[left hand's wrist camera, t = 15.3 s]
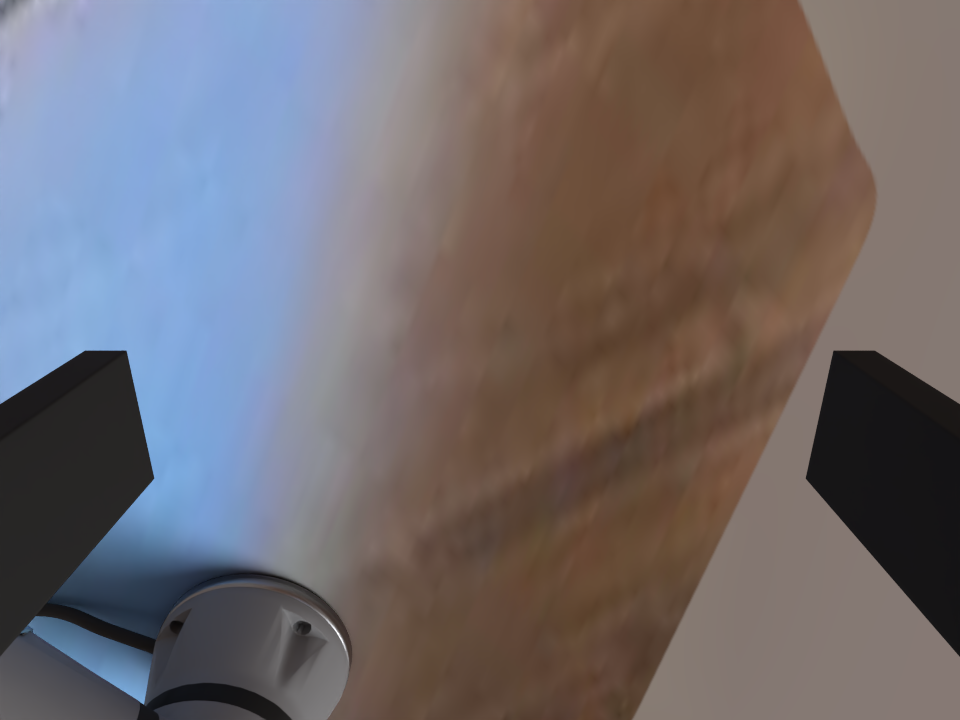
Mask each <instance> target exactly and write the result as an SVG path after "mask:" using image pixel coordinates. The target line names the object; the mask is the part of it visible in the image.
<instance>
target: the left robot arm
mask: <svg viewBox="0 0 960 720" xmlns="http://www.w3.org/2000/svg"><path fill="white" fill-rule="evenodd" d="M153 479H154V475H153V471H152V466H151V461H150V457H149V452H148V448H147V443H146V438H145V434H144V429H143V425H142V420H141V415H140V411H139V406H138V402H137V397H136V392H135V388H134V383H133V379H132V374H131V369H130V365H129V360H128V356H127V351H84V352H82V353H81V354H79V355H78V356H76V357H74V358H73V359H71V360H70V361H68V362H66V363H65V364H63V365H62V366H60V367H59V368H57V369H55V370H54V371H52V372H51V373H49V374H47V375H46V376H44V377H43V378H41V379H40V380H38V381H36V382H35V383H33V384H32V385H30V386H28V387H27V388H25V389H24V390H22V391H20V392H19V393H17V394H16V395H14V396H13V397H11V398H9V399H8V400H6V401H5V402H3V403H1V404H0V720H327V719H328V717H329V716H330V714H331V713H332V711H333V709H334V708H335V706H336V705H337V703H338V702H339V700H340V698H341V696H342V693H343V691H344V689H345V686H346V684H347V680H348V675H349V671H350V667H351V662H352V647H351V641H350V638H349V635H348V632H347V630H346V628H345V626H344V624H343V622H342V621H341V619H340V618H339V617H338V615H337V614H336V613H335V612H334V611H333V609H332V608H331V607H330V606H329V605H328V604H326V603H325V602H324V601H323V600H322V599H320V598H319V597H318V596H316V595H315V594H313V593H312V592H310V591H308V590H306V589H305V588H303V587H301V586H298V585H296V584H294V583H291V582H289V581H286V580H282V579H279V578H275V577H270V576H265V575H256V574H236V575H228V576H223V577H218V578H215V579H212V580H209V581H206V582H204V583H201V584H199V585H198V586H196V587H194V588H192V589H191V590H189V591H188V592H187V593H185V594H184V595H183V596H182V597H181V598H180V599H179V600H178V601H177V602H176V604H175V605H174V606H173V608H172V609H171V611H170V612H169V614H168V616H167V617H166V619H165V621H164V623H163V624H162V626H161V629H160V631H159V634H158V636H157V639H156V640H155V639H152V638H149V637H147V636H144V635H141V634H138V633H135V632H132V631H129V630H127V629H124V628H121V627H118V626H115V625H112V624H110V623H107V622H105V621H102V620H100V619H98V618H96V617H93V616H91V615H89V614H87V613H85V612H82V611H80V610H77V609H74V608H71V607H67V606H63V605H57V604H46V603H47V602H48V601H49V600H50V598H51V597H52V596H53V595H54V594H55V593H56V592H57V590H58V589H59V588H60V587H61V586H62V585H63V583H64V582H65V581H66V580H67V579H68V578H69V577H70V575H71V574H72V573H73V572H74V571H75V570H76V568H77V567H78V566H79V565H80V564H81V563H82V561H83V560H84V559H85V558H86V557H87V556H88V555H89V553H90V552H91V551H92V550H93V549H94V548H95V546H96V545H97V544H98V543H99V542H100V541H101V540H102V538H103V537H104V536H105V535H106V534H107V533H108V531H109V530H110V529H111V528H112V527H113V526H114V524H115V523H116V522H117V521H118V520H119V519H120V518H121V516H122V515H123V514H124V513H125V512H126V511H127V509H128V508H129V507H130V506H131V505H132V504H133V503H134V501H135V500H136V499H137V498H138V497H139V496H140V494H141V493H142V492H143V491H144V490H145V489H146V487H147V486H148V485H149V484H150V483H151V482H152V481H153ZM806 479H807V481H808V482H809V483H810V484H811V485H812V486H813V487H814V489H815V490H816V491H817V492H818V493H819V494H820V496H821V497H822V498H823V499H824V500H825V501H826V502H827V504H828V505H829V506H830V507H831V508H832V509H833V511H834V512H835V513H836V514H837V515H838V516H839V517H840V519H841V520H842V521H843V522H844V523H845V524H846V526H847V527H848V528H849V529H850V530H851V531H852V533H853V534H854V535H855V536H856V537H857V538H858V539H859V541H860V542H861V543H862V544H863V545H864V546H865V548H866V549H867V550H868V551H869V552H870V553H871V555H872V556H873V557H874V558H875V559H876V560H877V561H878V563H879V564H880V565H881V566H882V567H883V568H884V570H885V571H886V572H887V573H888V574H889V575H890V577H891V578H892V579H893V580H894V581H895V582H896V583H897V585H898V586H899V587H900V588H901V589H902V590H903V592H904V593H905V594H906V595H907V596H908V597H909V598H910V600H911V601H912V602H913V603H914V604H915V605H916V607H917V608H918V609H919V610H920V611H921V612H922V614H923V615H924V616H925V617H926V618H927V619H928V620H929V622H930V623H931V624H932V625H933V626H934V627H935V629H936V630H937V631H938V632H939V633H940V634H941V635H942V637H943V638H944V639H945V640H946V641H947V642H948V643H949V645H950V646H951V647H952V648H953V649H954V650H955V652H956V653H957V654H958V655H959V656H960V404H959V403H957V402H955V401H954V400H952V399H951V398H949V397H947V396H946V395H944V394H943V393H941V392H940V391H938V390H936V389H935V388H933V387H932V386H930V385H928V384H927V383H925V382H924V381H922V380H920V379H919V378H917V377H916V376H914V375H913V374H911V373H909V372H908V371H906V370H905V369H903V368H901V367H900V366H898V365H897V364H895V363H894V362H892V361H890V360H889V359H887V358H886V357H884V356H882V355H881V354H879V353H878V352H876V351H833V356H832V360H831V365H830V370H829V374H828V379H827V383H826V388H825V392H824V397H823V402H822V406H821V411H820V415H819V420H818V425H817V429H816V434H815V438H814V443H813V448H812V452H811V457H810V461H809V466H808V471H807V475H806ZM35 616H45V617H53V618H58V619H62V620H66V621H68V622H71V623H74V624H76V625H78V626H80V627H82V628H85V629H87V630H89V631H91V632H93V633H96V634H98V635H101V636H104V637H106V638H109V639H112V640H115V641H117V642H120V643H123V644H126V645H129V646H132V647H135V648H137V649H140V650H143V651H146V652H149V653H152V654H153V657H152V662H151V668H150V674H149V680H148V685H147V691H146V697H145V703H144V705H143V704H142V703H140V702H139V701H138V700H136V699H135V698H133V697H132V696H130V695H128V694H127V693H125V692H124V691H122V690H120V689H119V688H117V687H116V686H114V685H112V684H111V683H109V682H108V681H106V680H104V679H103V678H101V677H100V676H98V675H96V674H95V673H93V672H92V671H90V670H89V669H87V668H86V667H84V666H83V665H81V664H79V663H78V662H76V661H75V660H73V659H72V658H70V657H69V656H67V655H66V654H64V653H63V652H61V651H60V650H58V649H57V648H55V647H54V646H52V645H50V644H49V643H47V642H46V641H44V640H43V639H41V638H40V637H38V636H37V635H35V634H34V633H32V632H33V629H32V628H30V627H29V626H27V625H28V624H29V623H30V622H31V620H32V619H33V618H34V617H35Z"/></svg>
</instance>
